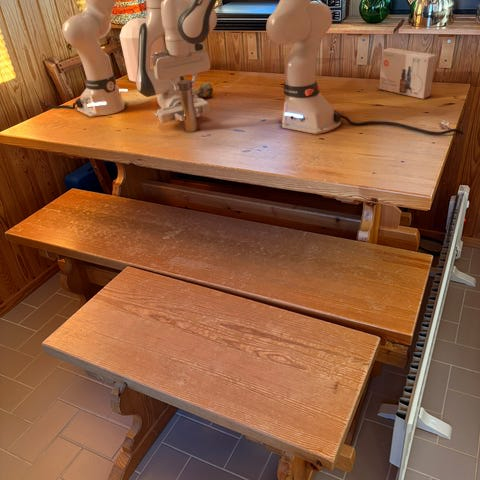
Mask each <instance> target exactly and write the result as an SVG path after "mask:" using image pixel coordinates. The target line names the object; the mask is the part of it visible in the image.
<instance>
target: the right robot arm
mask: <svg viewBox="0 0 480 480" xmlns="http://www.w3.org/2000/svg"><path fill="white" fill-rule="evenodd" d="M217 2H218V0H162V2H161V16H162V24H163V28H164V30H165V35H164V41H165V42H164V43H165V48H166V49H164V51H160V52H155V54H153V55H152V63H153V65H154V75H155V78H156V79H157V80H159V81H162V80H167V79H170V81H171V82H172V84H173V85H174V89H175V90H180V88H179V85H178V84H176V83H175V82H174V81H175V78H176V77H181V76H183V77H185V76H189V75H191V76H192V79H191V82H192V88H194V87H196V86H197V83H196V81H197V79H198V74H199V73H204V72H208V71H210V70H211V60H210V56H209V53H208V51H207V50H206V49H207V46H206V43H204V41H206V39H207V38H208V36H209V35H210V34H212V32H213V30H214V29H215V28H216V27H217V24H218V14H217V13H216V10H215V9H214V8H215V6H216V4H217ZM332 24H333V13H332V11H331V8H330V7H329V6H328V5H327V4H325V3H324V2H316V1H315V2H312V0H279V2H278V4H277V5H276V7H275V9H274V11H272V13H271V14H270V15H269V17H268V18H267V21H266V24H265V28H266V29H265V31H266V35H267V38H268V39H269V41H270V43H272V44H274V45H276V46H290V45H292V47H291V50H290V51H289V53H288V54H287V55H286V57H285V59H284V62H283V67H284V68H283V69H284V82H283V89H282V90H283V94H284V103H283V111H282V116H281V120H280V121H281V128H282V129H288V130H292V131H298V132H303V133H309V134H313V135H314V134H315V135H319V134H324V133H328V132H331V131H332V130H335V129H337V128H338V127H339V126H340V125H341V124H342V119H344V120H346V122H347V123H348V124H349V125H351V126H365V125H388V126H389V125H390V126H396V127H402V128H405V129H408V130H411V131H415V132H420V133H423V134H427V135H433V136H441V135H446V134H450V133H458V134H459V135H463V136H464V135H465V133H464V132H463V130H461V129H458V128H451V129H447V130H443V131H432V130H427V129H422V128H419V127H414V126H411V125H408V124H404V123H399V122H394V121H384V120H367V121H361V122H354V121H352V120H350V118H349V117H347V116H346V115H343V114H342V113H340V112H339V111H338V110H336V109H335V108H334V106H333V105H332V104H331V103H330V102H329V101H328V100H327V99H326V98H325V97H324V96H323V95H322V94H321V93H320V90H321V89H322V86H323V85H322V84H320V85H319V84H318V81H317V62H318V61H317V59H318V54H319V51H320V48H321V44H322V41H323V39H324V37H325V35H326V33H327V32H328V31H329V30H330V28H331V26H332ZM160 54H161V55H160ZM154 55H156V56H154ZM459 197H460V193H458V194H457V195H456V196H455V197H454V198H455V199H454V202H453V206H452V211H451V215H450V220H449V224H448V229H447V234H446V238H445V244H448V245H449V242H450V236H451V231H452V228H453V224H454V219H455V214H456V212H457V211H456V210H457V207H458V202H459Z"/></svg>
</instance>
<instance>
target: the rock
mask: <svg viewBox="0 0 480 480" xmlns="http://www.w3.org/2000/svg"><path fill="white" fill-rule="evenodd" d="M213 93H214V88H213V86H212V84H211V82H209V81H206V82H203V84H200V85H199V87H197V88H192V94H193V95H197V96H198V98H202V99H208V98H211V96H212V95H213Z"/></svg>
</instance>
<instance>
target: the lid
mask: <svg viewBox="0 0 480 480" xmlns="http://www.w3.org/2000/svg"><path fill="white" fill-rule="evenodd" d="M191 81H192V79H184V80H182V81H179V82H178V85H179V88H180V90H187V89H190V88H192V89H193V87H192V82H191Z"/></svg>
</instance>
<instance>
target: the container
mask: <svg viewBox="0 0 480 480" xmlns="http://www.w3.org/2000/svg"><path fill="white" fill-rule="evenodd" d="M145 19H146V17H145V18H144V17H136V18H132V19H129V20H128V21H127V22H126V23H125V24H124V25H123V26H122V28H121V31H120V33H119V41H120V45H121V49H122V54H123V59H124V63H125V68H126V72H127V77H128V80H129V81H130V82H134V83H136V77H137V68H138V43H139V31H140V26H141V25H142V24H143V23H144V22H145ZM164 50H165V45H164V39H163V36H161V37H160V38H158V39H157V40H155V41H154V43H153V44H152V46H151V52H150V69H154V65H153V63H152V55H153V54H155V52H160V51H164ZM160 55H161V54H160ZM154 56H156V55H154Z"/></svg>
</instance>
